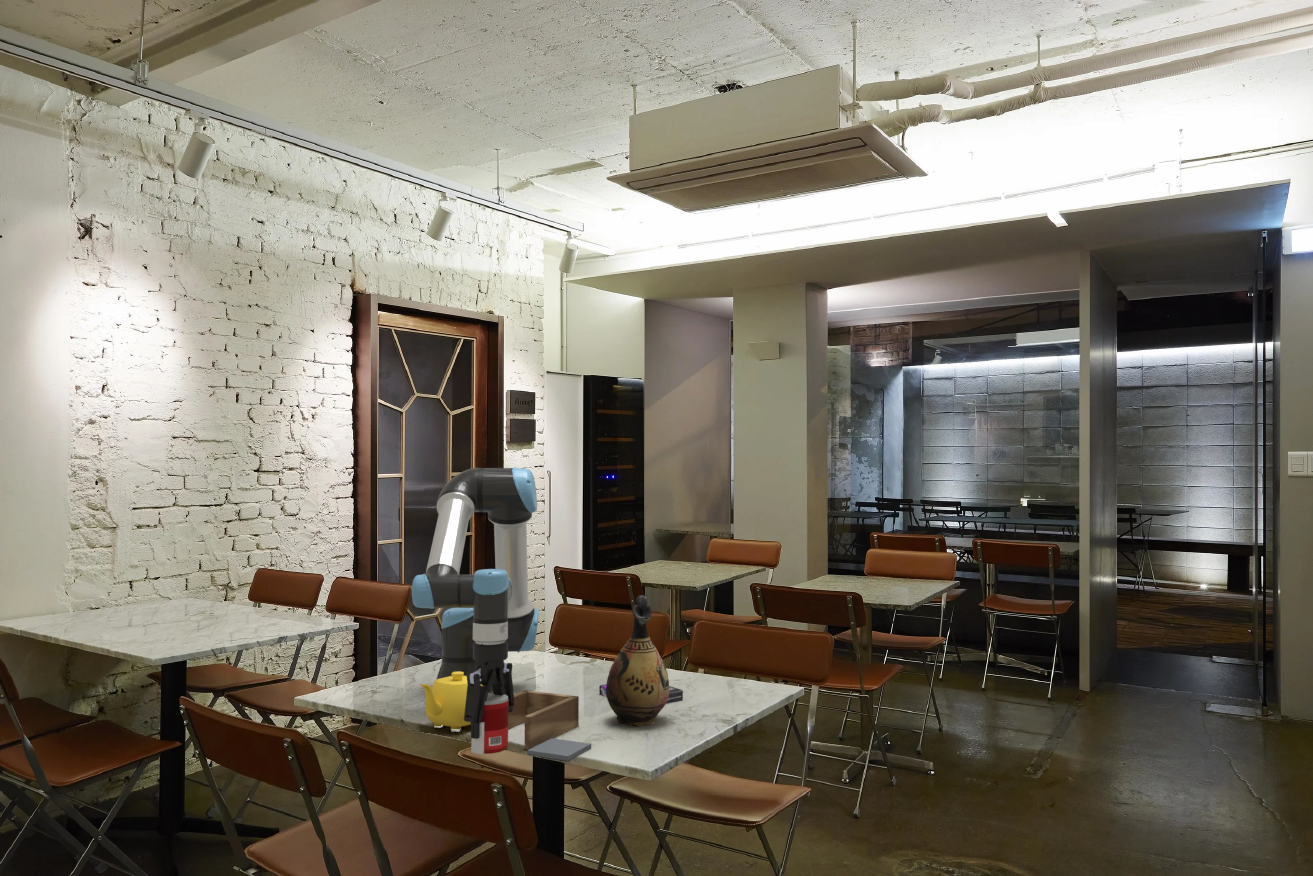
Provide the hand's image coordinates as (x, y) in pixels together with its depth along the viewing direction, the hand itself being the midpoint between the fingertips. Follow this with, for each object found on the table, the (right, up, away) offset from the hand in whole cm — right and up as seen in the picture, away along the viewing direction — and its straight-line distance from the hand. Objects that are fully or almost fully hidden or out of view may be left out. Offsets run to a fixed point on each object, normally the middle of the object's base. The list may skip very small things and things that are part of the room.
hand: (489, 747), depth 198 cm
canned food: (0, 0, 0) cm, 0 cm away
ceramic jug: (+31, -2, +25) cm, 40 cm away
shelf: (+6, -1, +13) cm, 15 cm away
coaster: (+15, -1, -1) cm, 15 cm away
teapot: (-12, -2, +19) cm, 22 cm away
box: (+32, -4, +49) cm, 58 cm away
